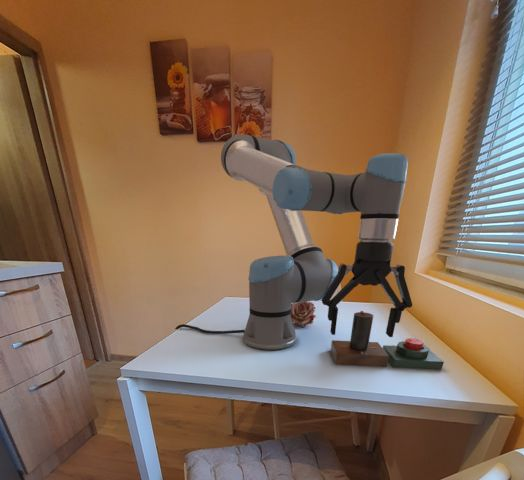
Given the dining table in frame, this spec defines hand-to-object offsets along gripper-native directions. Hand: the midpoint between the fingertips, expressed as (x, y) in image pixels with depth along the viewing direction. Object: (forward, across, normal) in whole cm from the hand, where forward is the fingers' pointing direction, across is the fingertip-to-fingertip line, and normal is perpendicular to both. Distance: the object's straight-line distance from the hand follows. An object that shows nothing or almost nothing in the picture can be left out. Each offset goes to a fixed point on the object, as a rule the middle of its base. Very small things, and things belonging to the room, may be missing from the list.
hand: (360, 334), depth 68 cm
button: (+3, -13, 0) cm, 13 cm away
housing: (+7, -13, 0) cm, 15 cm away
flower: (+7, +13, -26) cm, 30 cm away
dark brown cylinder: (+4, 0, 0) cm, 4 cm away
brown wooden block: (+7, 0, 0) cm, 7 cm away
